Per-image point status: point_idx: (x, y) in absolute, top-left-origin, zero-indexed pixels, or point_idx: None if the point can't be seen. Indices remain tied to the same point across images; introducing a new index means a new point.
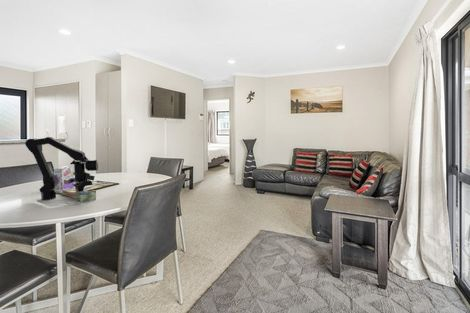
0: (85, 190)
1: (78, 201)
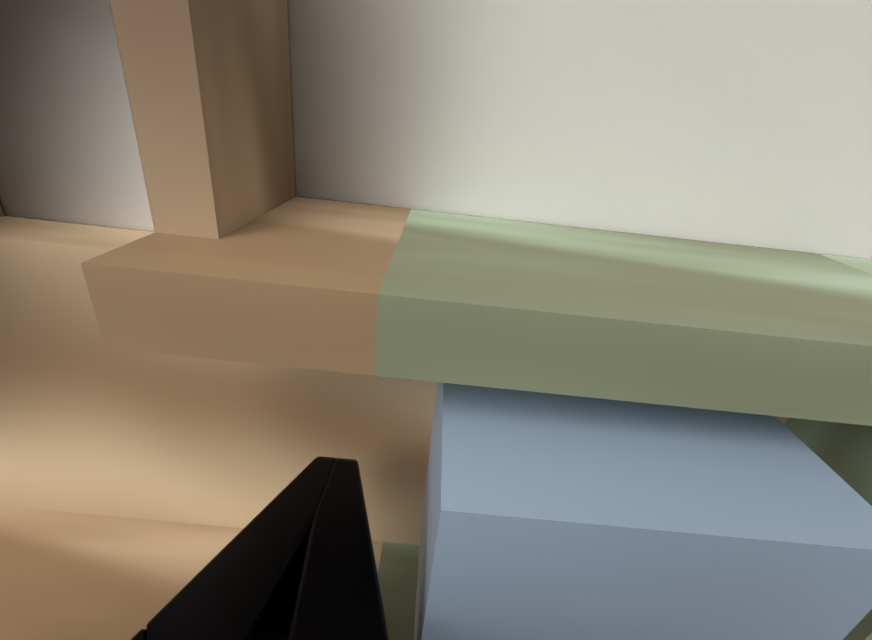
0: (451, 545)
1: None
